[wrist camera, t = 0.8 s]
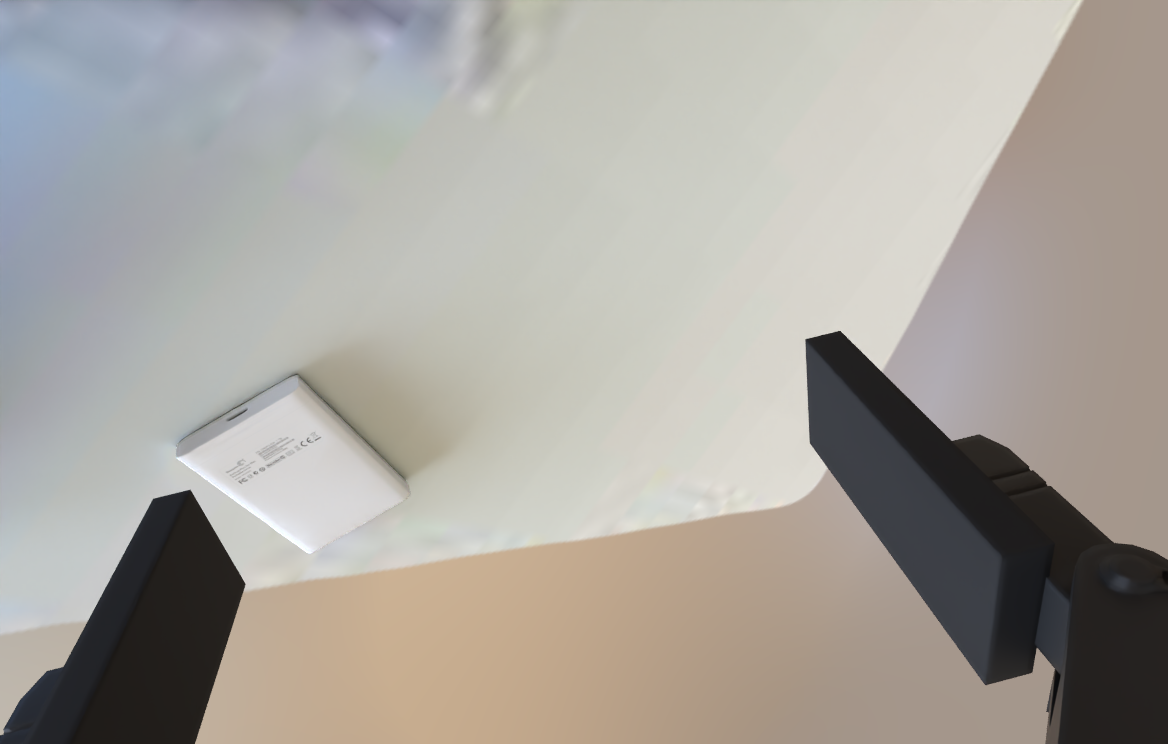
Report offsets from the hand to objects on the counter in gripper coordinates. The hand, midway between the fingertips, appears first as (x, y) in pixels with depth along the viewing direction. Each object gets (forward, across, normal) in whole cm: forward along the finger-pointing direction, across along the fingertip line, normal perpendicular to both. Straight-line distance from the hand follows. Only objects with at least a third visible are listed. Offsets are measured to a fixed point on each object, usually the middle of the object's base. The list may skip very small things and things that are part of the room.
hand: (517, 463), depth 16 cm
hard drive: (+29, -16, -17) cm, 37 cm away
